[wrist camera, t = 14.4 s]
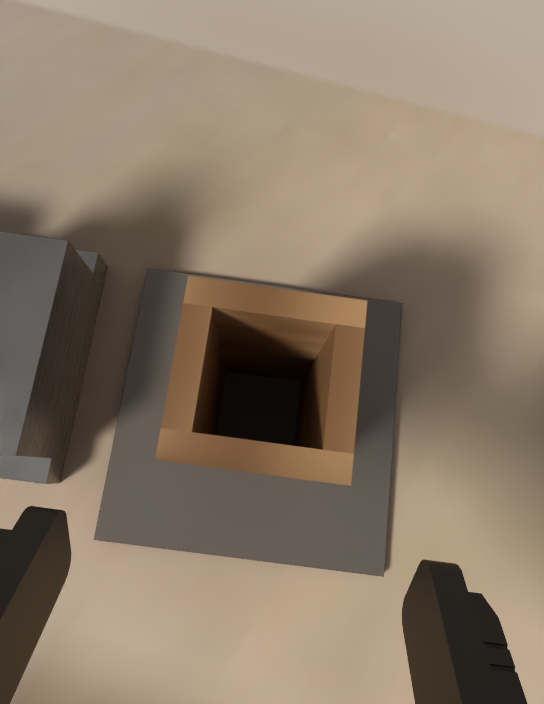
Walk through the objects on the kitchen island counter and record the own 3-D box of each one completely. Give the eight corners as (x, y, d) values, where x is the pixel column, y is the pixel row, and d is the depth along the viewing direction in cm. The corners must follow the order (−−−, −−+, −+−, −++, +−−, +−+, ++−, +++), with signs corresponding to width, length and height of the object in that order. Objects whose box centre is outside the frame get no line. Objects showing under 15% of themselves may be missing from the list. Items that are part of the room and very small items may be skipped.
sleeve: (320, 366, 23) (367, 300, 14) (308, 480, 21) (351, 485, 13) (211, 351, 23) (187, 275, 14) (192, 464, 21) (154, 459, 13)
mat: (399, 305, 24) (402, 303, 24) (381, 574, 21) (383, 576, 21) (149, 271, 24) (147, 268, 23) (96, 538, 21) (93, 539, 20)
